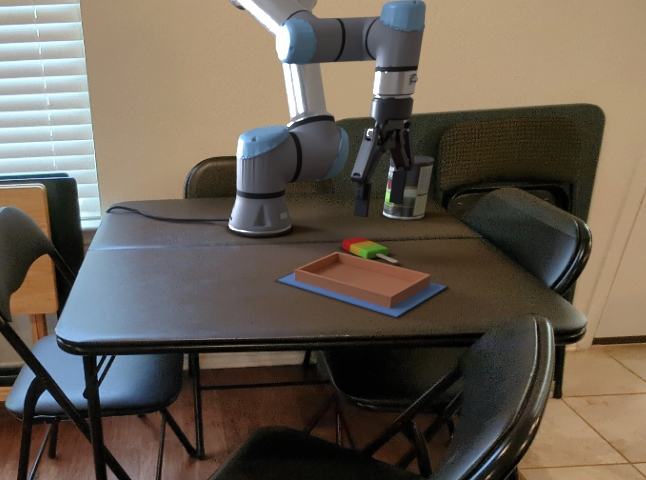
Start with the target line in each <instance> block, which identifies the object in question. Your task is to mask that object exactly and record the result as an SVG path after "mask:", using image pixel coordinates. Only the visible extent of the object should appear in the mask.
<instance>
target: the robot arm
mask: <svg viewBox="0 0 646 480" xmlns="http://www.w3.org/2000/svg"><path fill="white" fill-rule="evenodd" d="M228 1H229V3H231V4H232V5H233V6H234V7H235V8H236V9H238V10H240V11H246V12H247V13H248V14H249V15H250V16H251V17H252V18H253V19H255V21H257V23H259V24H260V25H261V26H262V27H263V28H264V29H265V30H266V31H267V32H268V33H269V34H270V35H271V36H272V37H273V38H274V39H275V49H276V50H275V51H276V53H277V57H278V59H279V61H280V62H281V65H282V73H283V78H284V86H285V92H286V100H287V106H288V112H289V118H290V120H289V122H288V123H287V125H282V124H281V125H279V124H277V125H276V124H275V125H266V126H260V127H254V128H252V129H249V130H246V131H244V132H243V133H241V135H240V136H239V137H238V139H237V149H236V154H235V156H236V198H235V200H234V204H233V206H232V211H231V214H230V217H229V218H221V217H220V218H219V217H218V218H176V217H166V216H159V215H155V214H151V213H148V212H145V211H143V210H141V209H138V208H132V207H128V206H123V205H114V206H111V207H109V208H107V210H106V211H105V213H110V212H111V211H112V210H117V209H119V210H125V211H129V212H136V213H140V214H142V215H143V216H145V217H148V218H152V219H155V220H162V221H168V222H169V221H170V222H183V223H184V222H185V223H186V222H188V223H189V222H193V223H194V222H200V223H202V222H207V223H208V222H228V231H230V232H231V233H233V234H235V235H238V236H242V237H247V238H248V237H249V238H273V237H278V236H283V235H285V234H288V233H289V232H290V231H291V230H292V220H291V219H292V218H291V216H290V213H289V209H288V204H287V201H286V200H287V199H286V186H287V184H293V183H294V184H295V183H303V182H311V181H318V182H320V181H323V180H329V179H333V178H335V177H338V175H339V174H340V173H341V172H342V171H343V169H344V167H346V166H345V165H346V163H347V161H348V157H349V152H350V139H349V135H348V133H347V131H346V130H345V129H344V128H343V127H340V126H337V125H336V119H335V115H334V114H332V113H331V112H329V111H328V110H327V103H326V96H325V91H324V83H323V75H322V69H321V64H327V63H328V64H329V63H347V62H348V63H349V62H352V63H353V62H372V61H373V62H375V68H374V77H373V83H372V84H373V86H372V95H374V97H373V98H372V99H371V104H370V111H369V117H370V119H371V120H374V121H375V124H374V127H373V126H366V127H365V128H364V132H363V139H362V142H361V144H360V147H359V150H358V154H357V156H356V159H355V162H354V165H353V168H352V171H351V174H350V178H349V179H350V181H351V182H352V183H356V190H355V198H354V199H355V200H354V208H353V216H356V217H361V218H368V217H369V213H370V211H369V210H370V202H371V194H372V193H371V192H372V186H373V183H372V182H371V179H372V177H373V175H374V173H375V171H376V169H377V167H378V166H379V165H378V164H379V163H380V161H381V159H382V157H383V155H384V154H385V153H387V152H388V150H389V152H390V155H391V157H392V158H393V161H394V164H395V168H396V170H398V171H393V176H392V183H391V191H390V198H389V203H395V204H403V197H404V190H405V183H406V176H407V171H412V170H413V165H414V155H415V154H414V153H415V152H414V144H413V134H412V133H413V132H412V131H413V121H412V120H409V119H411V118H412V116H413V109H414V101H415V99H414V97H412V95H414V94H415V92H416V84H417V82H418V81H419V78H418V70H419V65H420V57H421V51H422V44H423V40H424V39H423V38H424V32H425V29H426V23H425V22H426V13H427V12H426V11H427V4H426V3H425V1H423V0H392V1H391V0H390V1H387V2H384V4H383V5H382V8H381V11H380V15H379V16H378V15H377V16H376V15H375V16H353V17H317V16H316V15H315V14H314V13H313V10H314V9H315V7H316V5H317V3H318V0H228ZM408 159H409V160H408Z"/></svg>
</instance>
